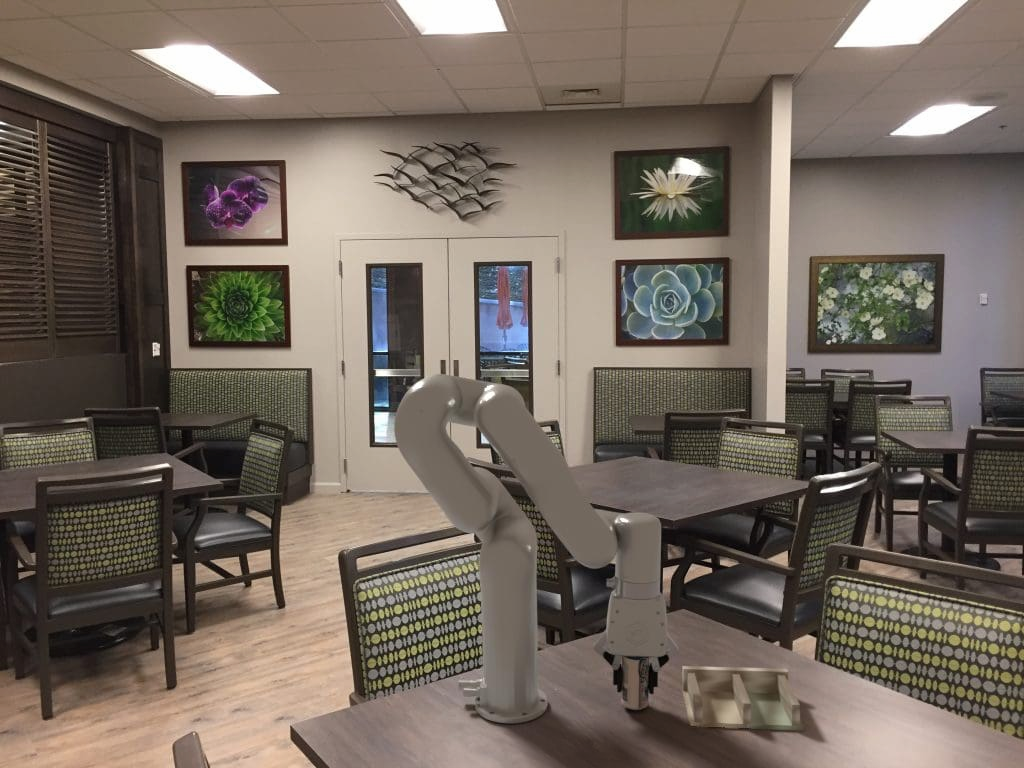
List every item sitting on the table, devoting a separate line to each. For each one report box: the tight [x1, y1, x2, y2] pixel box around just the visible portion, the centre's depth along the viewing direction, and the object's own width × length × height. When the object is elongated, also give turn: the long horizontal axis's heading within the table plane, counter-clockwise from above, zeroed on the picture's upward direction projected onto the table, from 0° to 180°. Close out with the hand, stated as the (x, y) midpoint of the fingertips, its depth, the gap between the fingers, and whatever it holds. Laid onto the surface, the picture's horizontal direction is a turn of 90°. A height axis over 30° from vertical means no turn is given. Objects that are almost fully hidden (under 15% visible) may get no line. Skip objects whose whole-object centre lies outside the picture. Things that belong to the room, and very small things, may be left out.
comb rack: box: [681, 665, 805, 732], centre depth 137 cm, size 18×12×5 cm, turn 84°
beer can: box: [620, 656, 650, 711], centre depth 138 cm, size 5×5×12 cm
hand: (635, 688), depth 139 cm, fingers closed on beer can, 4 cm apart
